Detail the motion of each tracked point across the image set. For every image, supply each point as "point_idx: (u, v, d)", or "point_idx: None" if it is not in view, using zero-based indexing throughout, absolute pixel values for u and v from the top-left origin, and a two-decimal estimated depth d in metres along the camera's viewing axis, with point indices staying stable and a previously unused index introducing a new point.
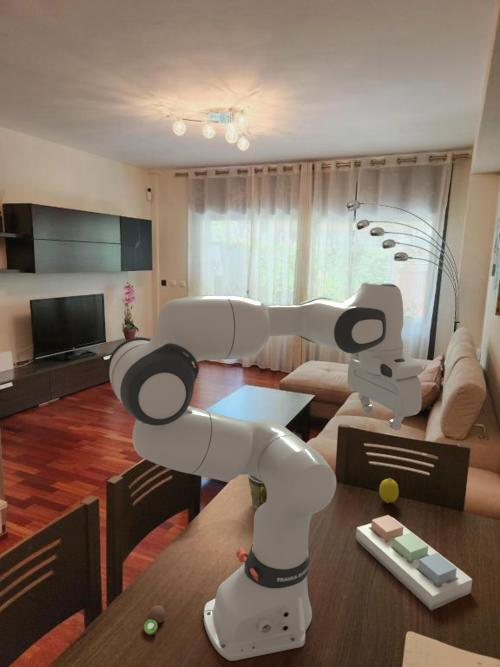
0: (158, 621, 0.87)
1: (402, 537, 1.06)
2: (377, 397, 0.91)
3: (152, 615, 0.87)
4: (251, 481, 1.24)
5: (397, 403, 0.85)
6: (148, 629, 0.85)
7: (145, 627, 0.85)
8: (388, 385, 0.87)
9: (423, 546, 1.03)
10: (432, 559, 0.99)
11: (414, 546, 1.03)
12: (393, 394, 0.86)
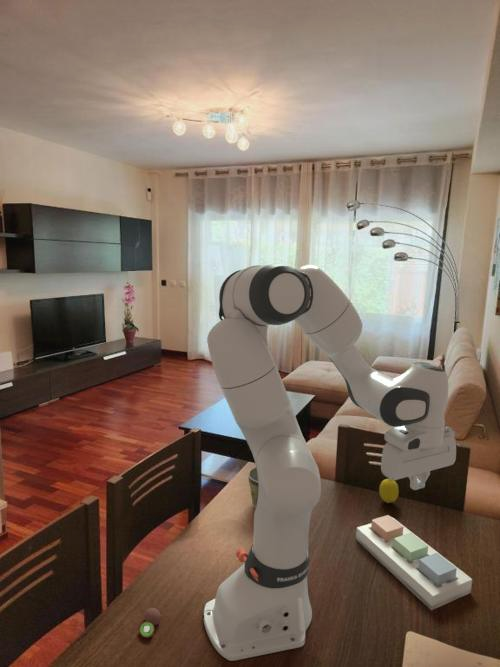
0: (154, 623, 0.86)
1: (402, 537, 1.06)
2: None
3: (148, 617, 0.86)
4: (251, 481, 1.24)
5: None
6: (144, 632, 0.84)
7: (141, 630, 0.85)
8: None
9: (423, 546, 1.03)
10: (432, 559, 0.99)
11: (414, 546, 1.03)
12: None
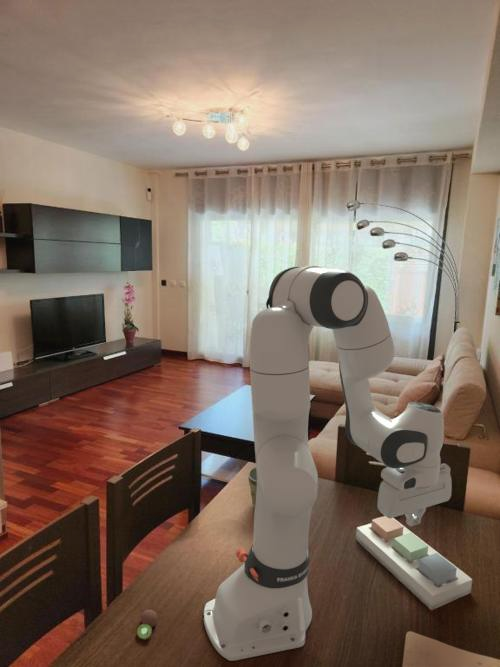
0: (151, 625, 0.86)
1: (402, 537, 1.06)
2: None
3: (144, 619, 0.86)
4: (251, 481, 1.24)
5: None
6: (142, 634, 0.84)
7: (139, 633, 0.84)
8: None
9: (423, 546, 1.03)
10: (432, 559, 0.99)
11: (414, 546, 1.03)
12: None
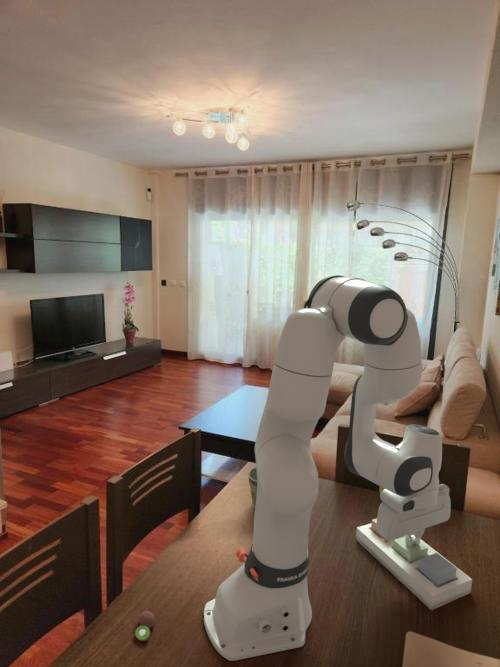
0: (149, 626, 0.85)
1: (402, 538, 1.07)
2: None
3: (142, 621, 0.86)
4: (251, 481, 1.24)
5: None
6: (140, 636, 0.83)
7: (137, 634, 0.84)
8: None
9: (423, 548, 1.03)
10: (432, 559, 0.99)
11: (414, 548, 1.03)
12: None
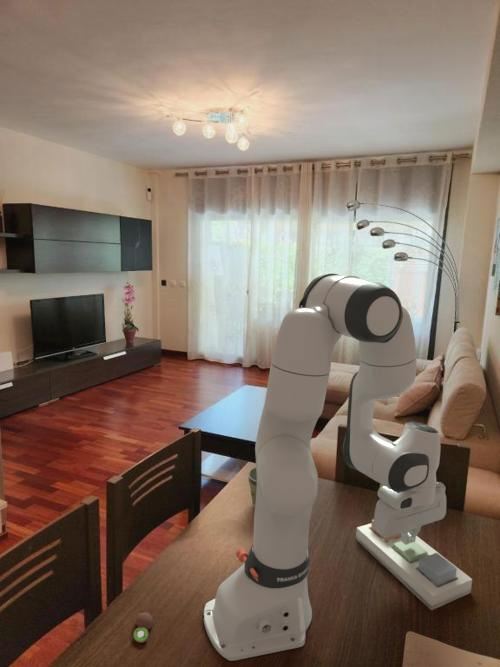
0: (147, 628, 0.85)
1: (401, 542, 1.07)
2: None
3: (140, 622, 0.85)
4: (251, 481, 1.24)
5: None
6: (139, 637, 0.83)
7: (135, 636, 0.83)
8: None
9: (422, 551, 1.04)
10: (432, 559, 0.99)
11: (413, 551, 1.03)
12: None
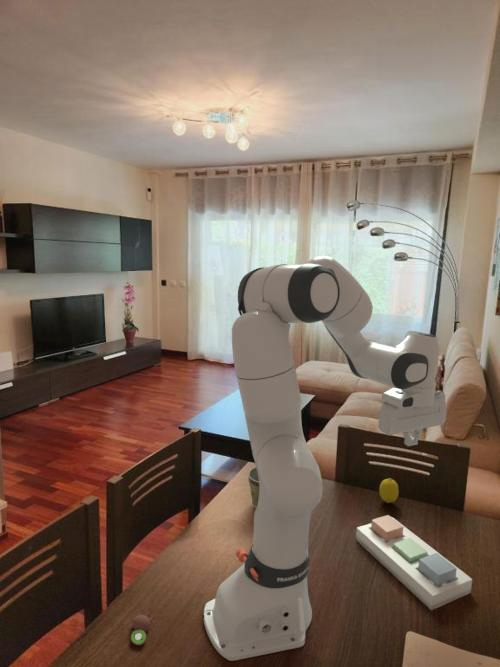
0: (144, 630, 0.85)
1: (401, 542, 1.07)
2: None
3: (137, 625, 0.85)
4: (251, 481, 1.24)
5: None
6: (136, 640, 0.82)
7: (133, 639, 0.83)
8: None
9: (422, 551, 1.04)
10: (432, 559, 0.99)
11: (413, 551, 1.03)
12: None
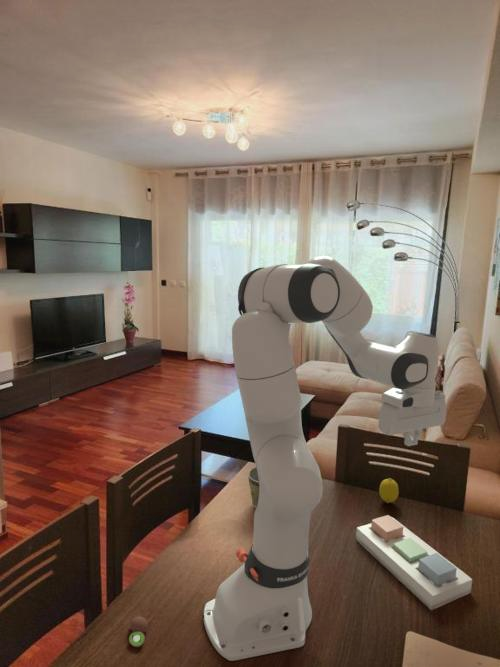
0: (142, 631, 0.84)
1: (401, 542, 1.07)
2: None
3: (135, 627, 0.84)
4: (251, 481, 1.24)
5: None
6: (135, 642, 0.82)
7: (131, 641, 0.82)
8: None
9: (422, 551, 1.04)
10: (432, 559, 0.99)
11: (413, 551, 1.03)
12: None
